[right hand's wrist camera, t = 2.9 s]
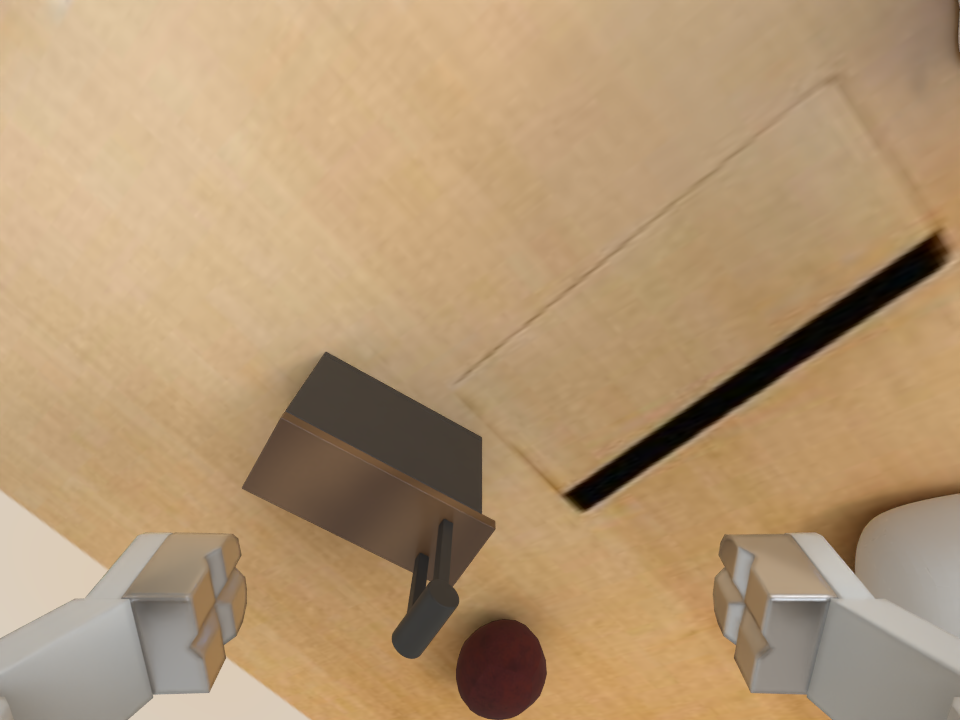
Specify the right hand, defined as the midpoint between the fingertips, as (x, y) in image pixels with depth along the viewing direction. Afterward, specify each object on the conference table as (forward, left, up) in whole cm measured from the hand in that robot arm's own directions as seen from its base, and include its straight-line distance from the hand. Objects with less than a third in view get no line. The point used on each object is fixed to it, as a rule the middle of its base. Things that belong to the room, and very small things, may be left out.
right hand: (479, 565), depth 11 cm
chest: (+1, +16, -34) cm, 38 cm away
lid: (+1, +16, -24) cm, 29 cm away
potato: (-14, +32, -34) cm, 49 cm away
